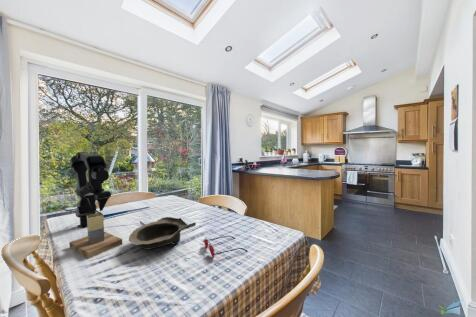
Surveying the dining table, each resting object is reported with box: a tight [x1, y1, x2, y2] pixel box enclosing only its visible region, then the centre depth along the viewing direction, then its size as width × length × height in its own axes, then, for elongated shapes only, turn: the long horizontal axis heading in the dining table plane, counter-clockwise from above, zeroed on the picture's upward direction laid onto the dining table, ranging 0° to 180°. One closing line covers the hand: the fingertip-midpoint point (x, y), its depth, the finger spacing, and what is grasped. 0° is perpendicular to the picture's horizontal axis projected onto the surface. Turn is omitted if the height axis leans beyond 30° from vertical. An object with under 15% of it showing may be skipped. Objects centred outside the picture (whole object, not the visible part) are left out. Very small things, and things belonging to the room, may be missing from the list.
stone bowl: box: [128, 216, 188, 250], centre depth 97 cm, size 25×25×9 cm
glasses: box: [202, 235, 248, 259], centre depth 92 cm, size 14×16×5 cm
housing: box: [86, 211, 105, 244], centre depth 94 cm, size 6×6×12 cm
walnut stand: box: [69, 231, 124, 259], centre depth 95 cm, size 18×14×2 cm
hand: (96, 209), depth 107 cm, fingers open, 9 cm apart
